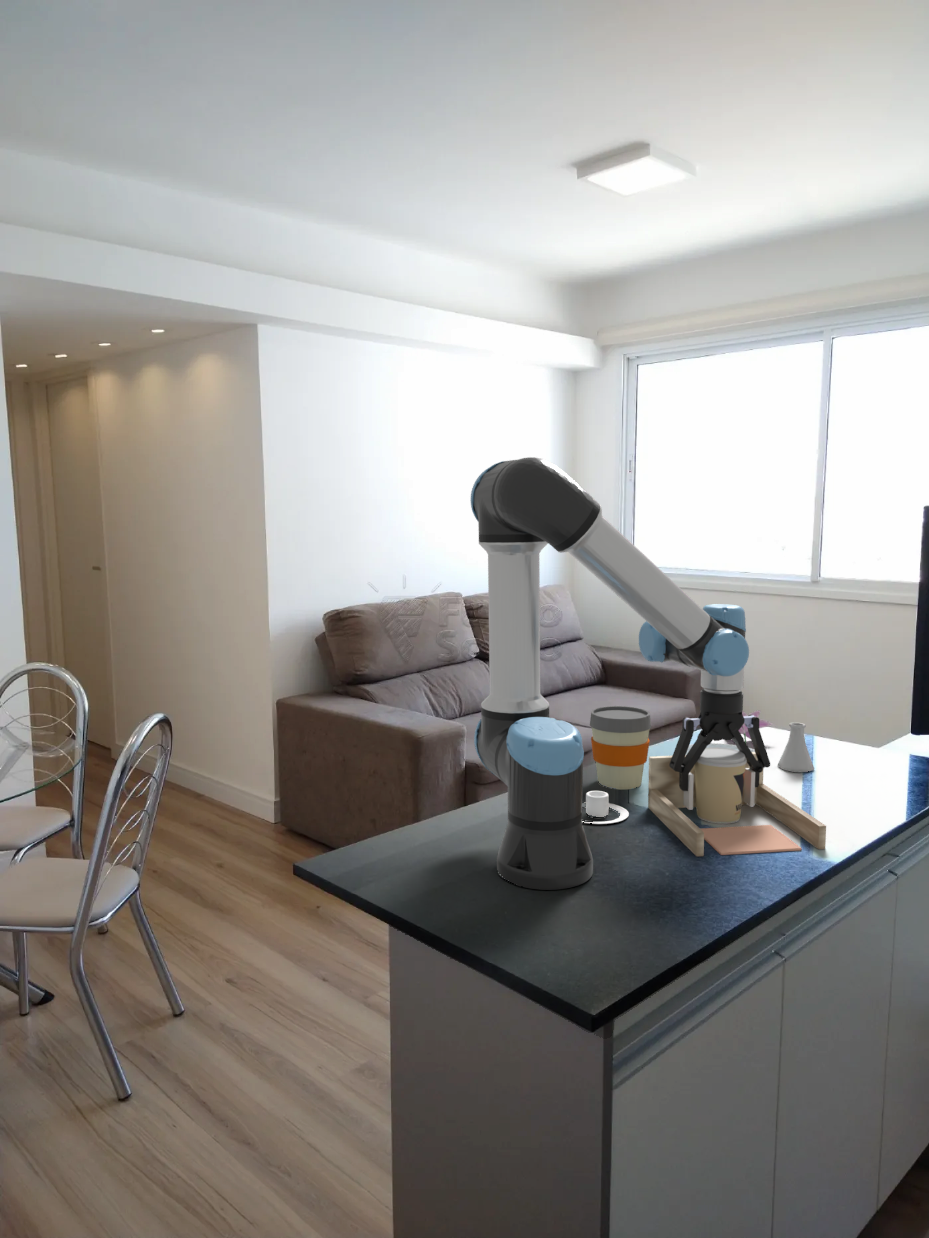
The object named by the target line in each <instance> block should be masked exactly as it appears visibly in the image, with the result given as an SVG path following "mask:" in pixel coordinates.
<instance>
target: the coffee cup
mask: <svg viewBox="0 0 929 1238" xmlns="http://www.w3.org/2000/svg"><path fill="white" fill-rule="evenodd" d="M746 762H747V759H746V757H745V755H744V753H742V752H740V751H737V750H734V749H729V748H719V747H710V748H706V749H705V750H704V752H703V753H702V755H701V756H700V758H699V759H698V761H697V762H696V764H695V786H696V807H695V808H696V815H697V817H698V819H700V820H702V821H705V822H706V823H707V822H708V823H712V824H718V825H720V824H721V825H727V824H734V823H737V822H739V821H740V819H741V816H742V815H741V812H742V807H743V805H742V796H743V787H744V776H745V764H746Z"/></svg>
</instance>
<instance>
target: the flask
mask: <svg viewBox="0 0 929 1238" xmlns="http://www.w3.org/2000/svg"><path fill="white" fill-rule="evenodd" d="M788 724H789V727H790V730H789V731H790V732H789V738H788V741H787V743H786V745H785V747H784V750H783V752H782V755H781V757H780V758H779V760H778V763H777V767H778V768H780V769H782V770H784V771H788V772H792V773H809V772H811V771H814V769H815V767H814V764H813V760H812V759H811V756H810V753H809V750H808V746H807V743H806V738H805V728H806V723H802V722H789V723H788ZM808 771H809V772H808Z"/></svg>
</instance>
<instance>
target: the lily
mask: <svg viewBox="0 0 929 1238" xmlns="http://www.w3.org/2000/svg"><path fill="white" fill-rule="evenodd" d="M750 714H751V715H754V716H755V717H757V718H759V717H760V714H761V710H758V709H757V710H754V711H752V712H750V713H748V714H747V713H746V712H745V711H744V710H742V715H743V716H748V715H750ZM773 725H774V723H773V722H771V721H769V720H766V719H763V718H759V730H760V729H763V728H767V727H771V726H773ZM739 732H740V734H741V735H742V736H743V739H744V741H745V743H746V744H747V739H749V740H751V738H750V735H749V732H748V728H747V727H746V726H745V723H744V724H743V725H742V727H741V728H740V730H739Z"/></svg>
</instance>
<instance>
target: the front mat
mask: <svg viewBox="0 0 929 1238" xmlns="http://www.w3.org/2000/svg"><path fill="white" fill-rule="evenodd" d="M700 829H701V830H702V831H703V832H704V841H706V843H707V844H709V846H710V847H712V848H713V849H714V850H715V851H716V852H717V853H718V854H720V856H727V855H742V854H759V853H779V852H780V853H781V852H795V851H802V849H803V848H802V847H801V846H799V845H798V844H797V843H795V842H794V841H793V840H791V839H790V838H789V837H788V836H786V834H784V833H782V832H781V831H780V830H778V828H775V827H774V826H773V825H772V824H762V825H761V824H760V825H759V824H758V825H757V824H756V825H742V826H724V827H722V826H721V827H706V828H705V827H704V828H700Z"/></svg>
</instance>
